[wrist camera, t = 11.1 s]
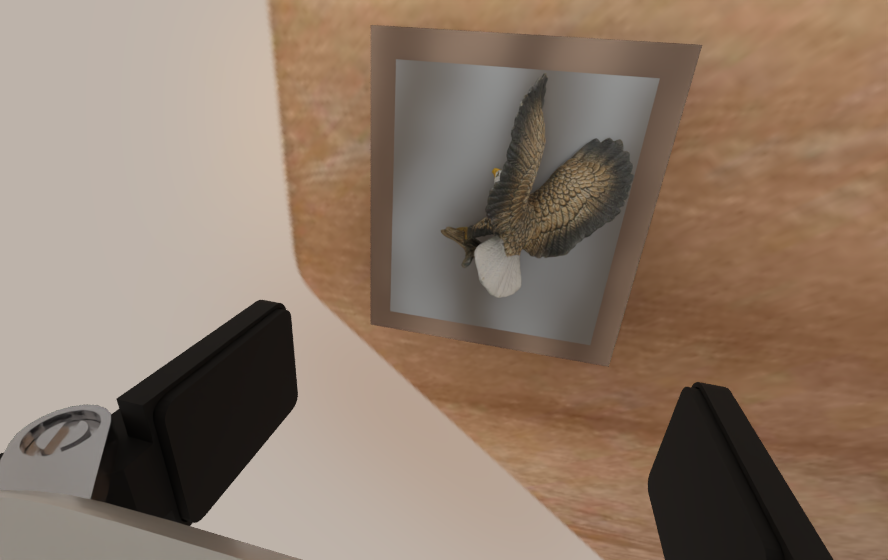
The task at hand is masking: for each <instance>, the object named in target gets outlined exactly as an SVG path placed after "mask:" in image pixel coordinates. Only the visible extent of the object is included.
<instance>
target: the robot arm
mask: <svg viewBox="0 0 888 560" xmlns="http://www.w3.org/2000/svg"><path fill="white" fill-rule="evenodd" d="M297 397H298V391H297V379H296V368H295V357H294V345H293V334H292V322H291V314H290V312H289V311H287V310H286V308H285V306H284V305H283V304H281V303H276V302H271V301H265V300H259V301H256V302H255V303H254V304H252V305H251V306H249V307H248V308H246V309H245V310H243V311H242V312H241V313H239V314H238V315H236V316H235V317H233V318H232V319H231V320H229V321H228V322H226V323H225V324H223V325H222V326H220V327H219V328H218V329H217V330H215V331H213V332H212V333H210V334H209V335H207V336H206V337H205V338H203V339H202V340H201V341H199V342H197V343H196V344H195V345H193V346H192V347H190V348H189V349H187V350H186V351H185V352H183V353H182V354H180V355H179V356H177V357H176V358H174V359H173V360H172V361H170V362H169V363H167V364H166V365H165V366H163V367H162V368H160V369H159V370H157V371H156V372H155V373H153V374H151V375H150V376H149V377H147V378H146V379H144V380H143V381H141V382H140V383H139V384H137V385H136V386H134V387H133V388H131V389H130V390H128V391H127V392H126V393H124V394H123V395H121V396H120V397H118V398H117V402H118V405H119V409H118V410H117V411H116V412H114V413H113V414H111V413H110V412H109V411H108V410H107V409H106V408H104V407H101V406H98V405H79V406H72V407H68V408H64V409H61V410H57V411H55V412H52V413H50V414H47V415H45V416H43V417H41V418H39V419H37V420H35V421H34V422H32V423H30V424H29V425H27V426H26V427H24V428H23V429H22V430H21V431H19V432H18V433H17V434H16V435H15V436H14V438H13V439H12V440H11V442H10V443H9V445H8V447H7V448H6V450H5V452H4V453H1V454H0V560H301V559H298V558H294V557H291V556H288V555H285V554H281V553H277V552H274V551H271V550H268V549H264V548H261V547H258V546H254V545H251V544H248V543H244V542H241V541H238V540H234V539H231V538H228V537H224V536H221V535H217V534H214V533H211V532H207V531H204V530H201V529H197V528H194V527H191V526H190V525H191V524H192V523H195V522H198V521H200V520H201V519H202V518H203V517H204V516H205V515H206V513H208V511H209V510H210V509H211V508H212V506H213V505H214V504H215V503H216V502H217V500H218V499H219V498H220V497H221V495H222V494H223V493H224V492H225V491H226V489H227V488H228V487H229V486H230V485H231V483H232V482H233V481H234V480H235V479H236V477H237V476H238V475H239V474H240V472H241V471H242V470H243V469H244V468H245V466H246V465H247V464H248V463H249V462H250V460H251V459H252V458H253V457H254V456H255V454H256V453H257V452H258V451H259V449H260V448H261V447H262V446H263V444H264V443H265V442H266V441H267V440H268V439H269V437H270V436H271V435H272V434H273V433H274V431H275V430H276V429H277V427H278V426H279V425H280V424H281V423H282V421H283V420H284V419H285V418H286V417H287V415H288V414H289V413H290V412H291V410H292V409H293V408H294V406H295V404H296V401H297ZM648 492H649V497H650V501H651V505H652V509H653V513H654V517H655V521H656V525H657V529H658V533H659V537H660V541H661V545H662V549H663V553H664V558H665V560H833V558H832V557H831V555H830V553H829V552H828V550H827V548H826V547H825V545H824V544H823V542H822V540H821V539H820V537H819V535H818V534H817V532H816V530H815V529H814V527H813V526H812V524H811V522H810V521H809V519H808V517H807V516H806V514H805V512H804V511H803V509H802V508H801V506H800V504H799V503H798V501H797V499H796V498H795V496H794V494H793V493H792V491H791V490H790V488H789V486H788V485H787V483H786V481H785V480H784V478H783V476H782V475H781V473H780V472H779V470H778V468H777V467H776V465H775V463H774V462H773V460H772V458H771V457H770V455H769V454H768V452H767V450H766V449H765V447H764V445H763V444H762V442H761V440H760V439H759V437H758V436H757V434H756V432H755V431H754V429H753V427H752V426H751V424H750V422H749V421H748V419H747V417H746V416H745V414H744V413H743V411H742V409H741V408H740V406H739V404H738V403H737V401H736V399H735V398H734V396H733V395H732V393H731V391H730V390H729V389H728V388H726V387H722V386H716V385H711V384H706V383H700V382H696V383H694V384H693V385H692V387H684V389H683V390H682V392H681V394H680V397H679V399H678V402H677V405H676V407H675V410H674V412H673V415H672V417H671V420H670V423H669V425H668V428H667V430H666V433H665V436H664V438H663V441H662V443H661V446H660V448H659V451H658V454H657V456H656V459H655V461H654V464H653V467H652V469H651V472H650V474H649V478H648Z"/></svg>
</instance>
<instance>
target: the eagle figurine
mask: <svg viewBox="0 0 888 560" xmlns="http://www.w3.org/2000/svg"><path fill="white" fill-rule="evenodd" d="M546 75H547V74H546V73H544V74H543V75H542V77H539V78H538V79H537V81H536V83H535V85H534V87H533V86H532V85H531V86H530V88H529V92H528V94H525V95H524V97H523V98H522V101H521V103H520V106H519V111H518V112H517V114H516V116H515V120H514V126H513V127H512V130H511V137H512V141H511V143H510V145H509V148H508V150H507V154H506V157H507V161H506V162H505V163H504V165H503V170H500V169H498V168H494V169H493V170H492V173H493V174H494V177H495V179H494V183H495V184H494V187H493V188H492V189H490V191H489V196H488V200H487V206H486V208H485V212H486V217H484V218H483V219H482V220H480V221H478V222H477V223H476V224H474V225H471V226H469V227H459V228H453V227H446V229H442V230H441V233H442V234H443V235H444V236H445V237H447V238H449V239H451V240H453V241H455V242H456V243H458V244H459V245H460V246H461V247H462V248H463V249H464V250H465V259H464V260H463V262H462V264H461V266H462V267H463V268H466V267H468V266H469V265H470V264H471V262H472V259H473V258H474V259H475V264H476V267H477V270H478V275H479V281H480V283H481V284H482V285H483V286H484V287H485V288H486V289H487V291H488V292H489V294H490V295H493V296H495V297H496V298H501V297H507V296H509V295H512V294H514V293H515V292H516V291H518V290H519V289H520V288H521V284H522V281H521V271H520V253H521V250H522V249H523V250H525V251H526V252H527V253H529V255H530V256H532V257H536V258H538V259H539V258H541V257H544V258H548V257H558V256H564V255H567V254H568V253H569V252H570V250H571V249H573V248H574V247H575V246H576V244H577V243H579V242H581V241H582V240H583V238H586V237H589V236H591V235H592V233H593V232H595V231H596V230H597V229H598V228H601V227H602V226H603V225H604V224H605V223H608V222H611V221H613V220H614V219H615V217H616V216H617V215H618V214H620V212H621V209H620V207H623V206H624V205H625V200H626V199H627V198H628V197H629V194H628V192H629V191H630V189H631V182H632V181H633V179H634V174H632V173H631V171H632V169H633V164H632V162H631V161H630V153H629V152H628V151H624V150H623V149H624V145H623V142H622V140H621V139H618V140H616V141H613V140H612V139H611V138H607V139H605V140H603V141H602V142H600V141H599V139H597V138H595V139H593V140H592V141H590V142H589V143H587V144H586V145H584V146H583V147H582V148H581V149H580V150H579V151H577V152H576V153H575V154H574V155H573V156H572V157H571V158H570V159H569V160H567V161H566V162H565V163H564V164H563V165H561V166H560V167H559V168H558V169H557V170H556V171H554V173H553V174H552V175H551V176H550V178H549V179H548V180H547V181H546V182H545V183H544V184H543V185H542V186H541V187H540V188H539V189H537V190H536V191H535V192H533V193H531V194H530V192H531V190H532V186H533V184H534V180H535V178H536V176H537V172H538V169H539V165H540V162H541V159H542V155H543V151H544V147H545V143H546V138H545V123H544V118H543V112H542V108H543V105H544V101H545V99H544V96H545V93H546V87H545V86H546V83H547V81H548V77H547V76H546ZM491 234H492V235H494V236H493V237H492V238H490V239H488V240H486V241H485V242H483V243H482V242H480V241H479V240H477V239H476V238H477V237H481V236H483V237H484V236H486V235H491Z"/></svg>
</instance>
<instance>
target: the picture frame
mask: <svg viewBox="0 0 888 560" xmlns="http://www.w3.org/2000/svg"><path fill="white" fill-rule="evenodd" d="M701 48H702V45H695V44H678V43H661V42H645V41H628V40H611V39H595V38H578V37H562V36H545V35H528V34H512V33H495V32H479V31H462V30H445V29H429V28H412V27H395V26H379V25H371V325H377V326H383V327H388V328H394V329H400V330H405V331H411V332H416V333H422V334H428V335H433V336H439V337H445V338H450V339H456V340H461V341H467V342H473V343H478V344H484V345H490V346H495V347H501V348H506V349H512V350H518V351H523V352H529V353H535V354H540V355H546V356H551V357H557V358H563V359H568V360H574V361H580V362H585V363H591V364H596V365H602V366H608V367H609V364H610V361H611V357H612V354H613V350H614V347H615V343H616V340H617V337H618V333H619V330H620V326H621V323H622V319H623V316H624V312H625V309H626V306H627V302H628V299H629V295H630V292H631V288H632V285H633V282H634V278H635V275H636V271H637V268H638V264H639V261H640V257H641V254H642V251H643V247H644V244H645V240H646V237H647V233H648V230H649V226H650V223H651V220H652V216H653V213H654V209H655V206H656V202H657V199H658V195H659V192H660V189H661V185H662V182H663V178H664V175H665V171H666V168H667V165H668V161H669V158H670V154H671V151H672V147H673V144H674V140H675V137H676V134H677V130H678V127H679V123H680V120H681V116H682V113H683V109H684V106H685V103H686V99H687V96H688V92H689V89H690V85H691V82H692V79H693V75H694V72H695V68H696V65H697V61H698V58H699V54H700V51H701ZM544 73H546V74H547V75H546V76H547V77H548V81H547V83H546V86H545V87H546V93H545V96H544V99H545V101H544V105H543V108H542V112H543V118H544V123H545V138H546V143H545V147H544V151H543V155H542V159H541V162H540V165H539V169H538V172H537V176H536V178H535V180H534V184H533V186H532V190H531V192H530V194H531V193H533V192H535V191H536V190H537V189H539V188H540V187H541V186H542V185H543V184H544V183H545V182H546V181H547V180H548V179H549V178H550V176H551V175H552V174H553V173H554V171H556V170H557V169H558V168H559V167H560V166H561V165H563V164H564V163H565V162H566V161H567V160H569V159H570V158H571V157H572V156H573V155H574V154H575V153H576V152H577V151H579V150H580V149H581V148H582V147H583V146H584V145H586V144H587V143H589V142H590V141H592V140H593V139H595V138H597V139H599V141H600V142H602V141H603V140H605V139H607V138H611V139H612V140H613V141H616V140H618V139H621V140H622V142H623V145H624V149H623V150H624V151H628V152H629V153H630V161H631V162H632V164H633V169H632V171H631V173H632V174H634V179H633V181H632V182H631V189H630V191H629V192H628V194H629V197H628V198H627V199H626V200H625V205H624V206H623V207H620V209H621V212H620V214H618V215H617V216H616V217H615V219H614V220H613V221H611V222H608V223H605V224H604V225H603V226H602V227H601V228H598V229H597V230H596V231H595V232H593V233H592V235H591V236H589V237H586V238H583V240H582V241H581V242H579V243H577V244H576V246H575V247H574V248H573V249H571V250H570V252H569V253H568V254H567V255H564V256H558V257H548V258H544V257H541V258H539V259H538V258H536V257H532V256H530V255H529V253H527V252H526V251H525V250H523V249H522V250H521V253H520V271H521V281H522V284H521V288H520V289H519V290H518V291H516V292H515V293H514V294H512V295H509V296H507V297H501V298H496V297H495V296H493V295H490V294H489V292H488V291H487V289H486V288H485V287H484V286H483V285H482V284H481V283H480V281H479V275H478V270H477V267H476V264H475V259H474V258H473V259H472V262H471V264H470V265H469V266H468V267H466V268H463V267H462V266H461V264H462V262H463V260H464V259H465V250H464V249H463V248H462V247H461V246H460V245H459V244H458V243H456V242H455V241H453V240H451V239H449V238H447V237H445V236H444V235H443V234H442V233H441V230H442V229H446V227H453V228H459V227H469V226H471V225H474V224H476V223H477V222H478V221H480V220H482V219H483V218H484V217H486V212H485V208H486V206H487V200H488V196H489V191H490V189H492V188H493V187H494V184H495V183H494V179H495V177H494V174H493V173H492V170H493V169H494V168H498V169H500V170H503V165H504V163H505V162H506V161H507V157H506V154H507V150H508V148H509V145H510V143H511V141H512V137H511V130H512V127H513V126H514V120H515V116H516V114H517V112H518V111H519V106H520V103H521V101H522V98H523V97H524V95H525V94H528V92H529V88H530V86H531V85H532V86H533V87H534V85H535V83H536V81H537V79H538V78H539V77H542V75H543V74H544ZM493 236H494V235H492V234H491V235H486V236H484V237H483V236H481V237H477V238H476V239H477V240H479V241H480V242H482V243H483V242H485V241H486V240H488V239H490V238H492V237H493Z"/></svg>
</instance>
